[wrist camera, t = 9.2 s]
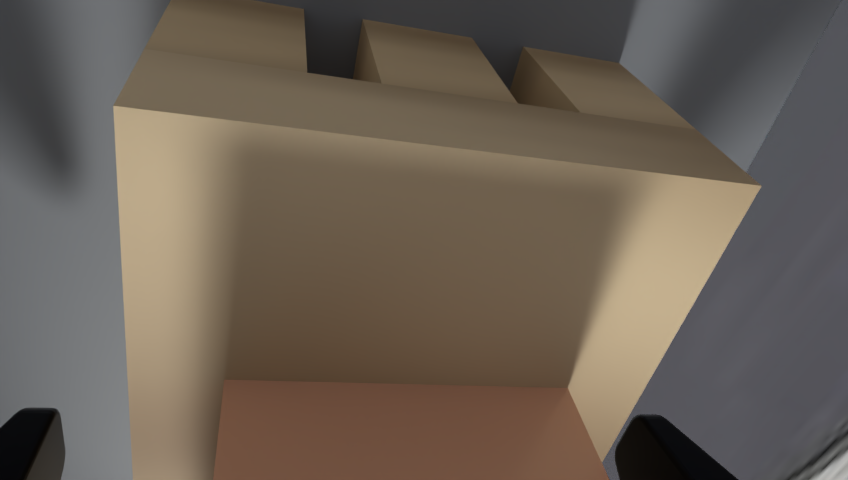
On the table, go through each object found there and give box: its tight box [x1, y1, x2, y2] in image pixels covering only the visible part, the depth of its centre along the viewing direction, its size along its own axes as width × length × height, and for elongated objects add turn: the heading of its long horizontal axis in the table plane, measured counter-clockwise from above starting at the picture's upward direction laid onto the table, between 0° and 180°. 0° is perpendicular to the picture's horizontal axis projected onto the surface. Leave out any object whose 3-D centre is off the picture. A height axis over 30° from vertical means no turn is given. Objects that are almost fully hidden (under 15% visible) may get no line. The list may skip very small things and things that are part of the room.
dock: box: [0, 0, 841, 480], centre depth 13 cm, size 18×12×3 cm, turn 168°
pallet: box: [113, 0, 761, 480], centre depth 10 cm, size 10×6×4 cm, turn 168°
